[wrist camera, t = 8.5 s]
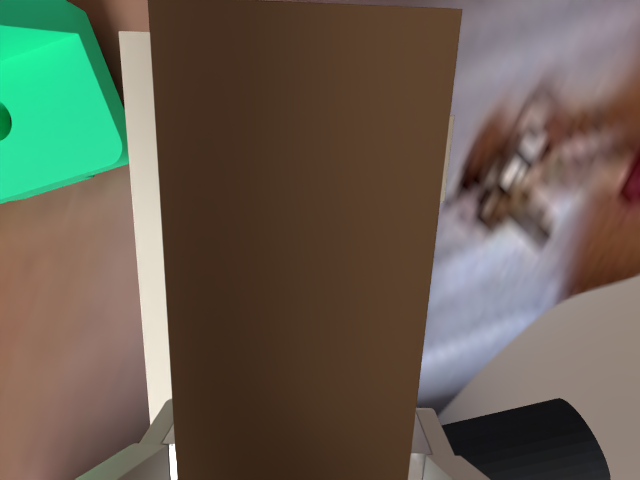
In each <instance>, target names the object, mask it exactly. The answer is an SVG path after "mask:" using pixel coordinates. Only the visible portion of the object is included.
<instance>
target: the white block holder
mask: <svg viewBox="0 0 640 480" xmlns="http://www.w3.org/2000/svg"><path fill="white" fill-rule="evenodd" d="M119 42H120V55H121V67H122V80H123V92H124V104H125V117H126V129H127V142H128V154H129V166H130V179H131V191H132V203H133V216H134V228H135V241H136V253H137V265H138V278H139V290H140V303H141V315H142V327H143V340H144V352H145V364H146V377H147V389H148V402H149V414H150V425H151V424H152V422H153V421H154V419H155V418H156V416H157V415H158V413H159V412H160V410H161V408H162V407H163V405H164V404H165V402H166V401H167V400H169V399H170V398H172V388H171V372H170V356H169V339H168V323H167V307H166V290H165V274H164V257H163V241H162V225H161V208H160V192H159V176H158V159H157V143H156V126H155V110H154V94H153V77H152V61H151V45H150V32H127V31H119ZM453 124H454V115H450V119H449V128H448V137H447V145H446V154H445V163H444V171H443V180H442V189H441V197H440V202H444V198H445V189H446V181H447V173H448V165H449V156H450V148H451V140H452V132H453Z"/></svg>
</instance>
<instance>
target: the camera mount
mask: <svg viewBox="0 0 640 480" xmlns="http://www.w3.org/2000/svg"><path fill="white" fill-rule="evenodd" d="M10 116H11V120H12V127H11V124H10ZM126 164H129V154H128V142H127V129H126V117H125V111H124V108H123V106H122V103H121V100H120V98H119V95H118V93H117V90H116V88H115V85H114V83H113V80H112V78H111V75H110V72H109V70H108V67H107V65H106V62H105V60H104V57H103V55H102V52H101V50H100V47H99V44H98V42H97V39H96V37H95V34H94V32H93V29H92V27H91V24H90V22H89V19H88V17H87V14H86V12H85V11H83V10H82V9H80V8H78V7H76V6H75V5H73V4H71V3H70V2H68V1H66V0H0V204H2V203H5V202H8V201H14V200H21V199H25V198H28V197H31V196H35V195H38V194H41V193H44V192H47V191H51V190H54V189H57V188H60V187H63V186H67V185H70V184H73V183H76V182H79V181H83V180H86V179H89V178H92V177H94V176H93V175H95V174H98V173H101V172H104V171H107V170H111V169H114V168H117V167H120V166H123V165H126Z"/></svg>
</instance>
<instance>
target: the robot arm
mask: <svg viewBox="0 0 640 480" xmlns="http://www.w3.org/2000/svg"><path fill="white" fill-rule="evenodd" d="M75 480H177V470H176V454H175V438H174V421H173V405H172V398H170V399H169V400H167V401H166V402H165V404H164V405H163V407H162V408H161V410H160V412H159V413H158V415H157V416H156V418H155V419H154V421H153V422H152V424H151V425H150V427H149V429H148V430H147V432H146V433H145V435H144V436H143V438H142V439H141V441H140V442H139V444H138V443H133V444H131V445H130V446H128V447H126V448H125V449H123V450H121V451H120V452H118V453H117V454H115V455H113V456H112V457H110V458H109V459H107V460H105V461H104V462H102V463H100V464H99V465H97V466H96V467H94V468H92V469H91V470H89V471H88V472H86V473H84V474H83V475H81V476H79V477H78V478H76V479H75ZM408 480H490V479H489V478H488V477H486V476H485V475H484V474H483V473H481V472H480V471H479V470H478V469H476V468H475V467H474V466H473V465H471V464H470V463H469V462H468V461H466V460H465V459H464V458H462V457H461V456H455V455H454V453H453V451H452V448H451V446H450V444H449V442H448V440H447V437H446V435H445V433H444V431H443V428H442V426H441V424H440V422H439V420H438V417H437V415H436V413H435V411H434V410H433V409H432V408H416V414H415V423H414V431H413V440H412V449H411V457H410V466H409V475H408Z"/></svg>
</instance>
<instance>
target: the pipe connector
mask: <svg viewBox="0 0 640 480" xmlns="http://www.w3.org/2000/svg"><path fill="white" fill-rule="evenodd" d="M442 428H443V431H444V433H445V435H446V437H447V440H448V442H449V444H450V446H451V448H452V451H453V453H454V455H455V456H461V457H462V458H464V459H465V460H466V461H468V462H469V463H470V464H471V465H473V466H474V467H475V468H476V469H478V470H479V471H480V472H481V473H483V474H484V475H485V476H486V477H488V478H489V479H490V480H610V473H609V469H608V465H607V462H606V459H605V457H604V455H603V453H602V450H601V448H600V446H599V444H598V442H597V440H596V438H595V436H594V435H593V433H592V431H591V430H590V428H589V427H588V425H587V424H586V422H585V421H584V419H583V418H582V417H581V415H580V414H579V413H578V412H577V411H576V410H575V409H574V408H573V407H572V406H571V405H570V404H569V403H568V402H566V401H565V400H563V399H560V398H558V399H553V400H549V401H545V402H540V403H536V404H532V405H528V406H523V407H519V408H515V409H510V410H506V411H502V412H498V413H493V414H489V415H485V416H480V417H476V418H472V419H468V420H463V421H459V422H455V423H451V424H447V425H442Z"/></svg>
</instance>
